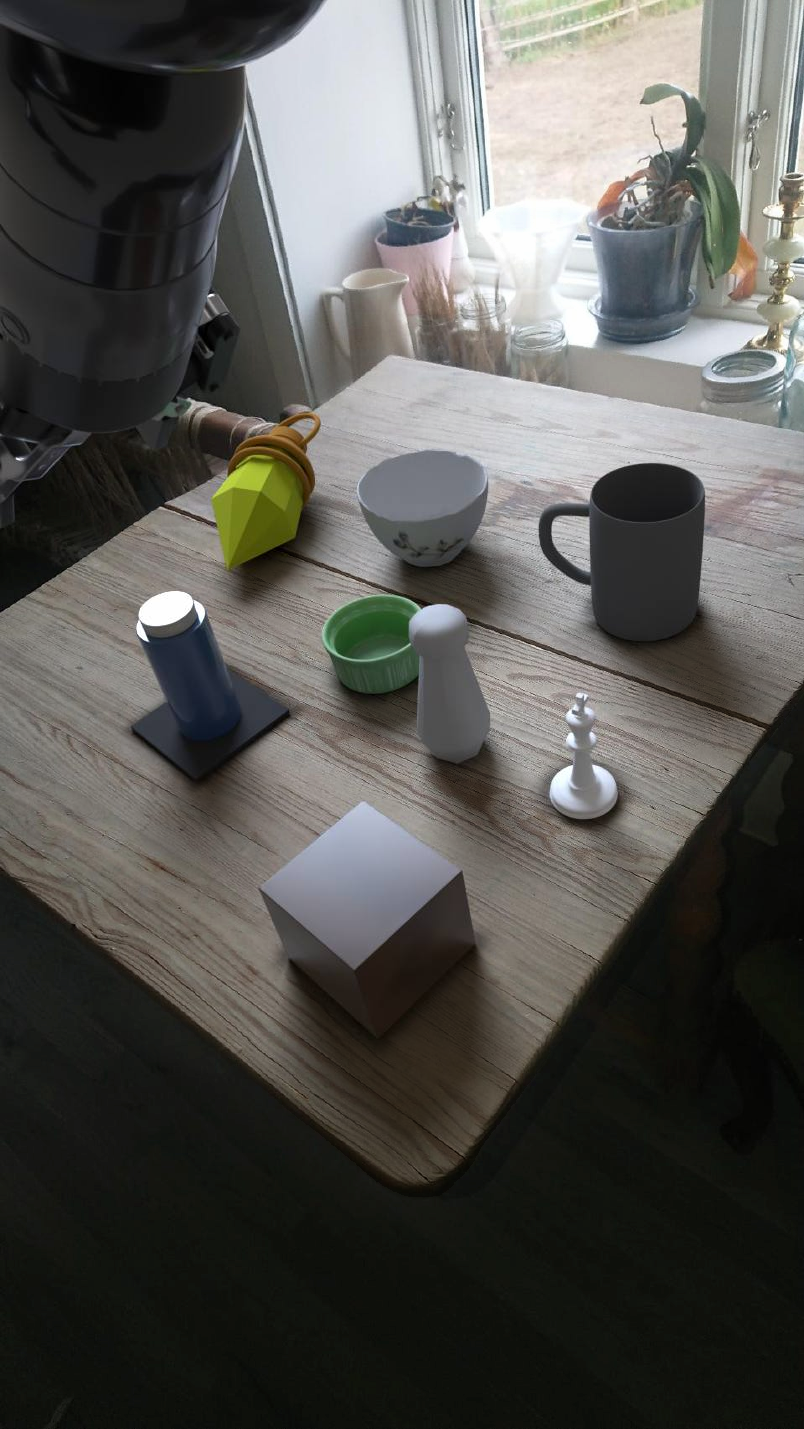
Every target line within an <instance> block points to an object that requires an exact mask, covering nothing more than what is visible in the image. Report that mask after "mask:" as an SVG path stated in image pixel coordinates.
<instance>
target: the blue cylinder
mask: <svg viewBox="0 0 804 1429" xmlns="http://www.w3.org/2000/svg"><path fill="white" fill-rule="evenodd" d="M137 618H138V620H137V623H136V625H135V626H136V627H135V633H136V636H137V638H138V641H139V643H140V645H141V647H142V650H143V652H144V654H145V657H146V658H147V661H148V663H149V666H150V668H151V670H152V672H153V675H154V677H155V679H156V681H157V683H158V686H159V688H160V691H161V692H162V695H163V697H164V700H165V702H167V704H168V706H169V708H170V711H171V713H172V715H173V718H174V720H175V722H176V724H177V727H178V729H179V731H180V733H181V734H182V735H183V736H184V737H186V738H188V739H190V740H195V741H207V740H212V739H215V738H218V737H221V736H223V735H224V734H226V733H228V732H229V731H230V730H232V729H233V728H234V727H235V726H236V724H237V723H238V721H239V720H240V717H241V713H242V709H241V705H240V702H239V700H238V697H237V694H236V692H235V689H234V686H233V684H232V681H231V678H230V675H229V673H228V670H227V669H228V667H227V664H226V662H225V659H224V657H223V653H222V652H221V649H220V646H219V643H218V641H217V638H216V635H215V632H214V630H213V627H212V624H211V622H210V618H209V615H208V613H207V611H206V608H205V606H204V605H203V604H202V603H201V602H199V601H197V600H195V599H194V598H193V597H192V596H191V595H190V594H189V593H187V592H185V591H179V590H178V591H177V590H174V591H173V590H172V591H171V590H170V591H166V592H162V593H159V594H157V595H155V596H153V597H151V598H149V599H147V600H146V601H145V602H144V603H143V604H142V605H141V607H140V608H139V611H138V614H137Z"/></svg>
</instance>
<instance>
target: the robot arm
mask: <svg viewBox="0 0 804 1429" xmlns="http://www.w3.org/2000/svg"><path fill="white" fill-rule="evenodd" d="M327 2H328V0H0V529H3V528H6V527H7V526H9V525H11V524H13V523H15V521H16V520H15V518H16V517H15V515H16V514H15V494H14V493H13V492H14V491H15V490H16V489H17V488H18V487H19V485H20V484H22V482H24V481H33V480H39V479H42V478H43V477H44V476H45V475H46V474H47V473H48V471H49V470H50V469H51V468H52V467H53V466H54V465H55V464H56V463H57V462H58V461H59V460H60V459H61V458H62V457H63V456H64V455H65V453H67V451H68V450H69V449H70V448H71V447H73V446H81V445H82V444H84V442H86V440H87V439H88V438H89V437H90V436H91V435H92V434H109V433H117V432H122V431H123V432H124V431H126V430H130V429H134V428H136V430H137V431H138V433H139V434H140V436H141V438H142V439H143V440H144V442H145V443H146V445H147V446H148V447H149V449H150V450H151V451H152V452H154V453H155V452H157V451H159V450H161V449H163V448H165V447H167V446H168V443H169V439H170V436H171V434H172V433H173V432H174V430H175V429H176V428H177V424H178V421H179V418H180V416H183V415H184V414H186V413H187V412H188V410H189V409H190V408H191V407H192V405H193V403H192V401H191V400H190V397H191V396H192V395H194V394H196V393H197V392H199V391H201V392H202V394H203V396H206V397H209V396H211V395H214V394H217V393H218V392H219V391H220V390H221V389H222V388H223V387H224V385H225V384H226V382H227V377H228V375H229V371H230V368H231V363H232V360H233V356H234V354H235V350H236V346H237V343H238V340H239V336H240V332H241V328H240V326H239V324H238V323H237V321H236V319H235V318H234V317H233V314H231V312H230V311H229V309H228V308H227V306H226V305H225V303H224V302H223V300H222V299H221V297H220V296H219V294H218V292H217V291H216V290H215V288H214V287H213V285H212V283H213V278H214V273H215V269H216V268H215V267H216V261H217V260H216V259H217V252H218V235H219V230H220V223H221V220H222V217H223V213H224V210H225V207H226V202H227V198H228V195H229V191H230V188H231V184H232V181H233V178H234V174H235V171H236V169H237V165H238V162H239V156H240V153H241V148H242V144H243V139H244V138H243V137H244V131H245V125H246V124H245V122H246V115H247V114H246V111H247V65H249V64H252V63H254V62H255V61H258V60H260V59H262V58H264V57H267V56H269V55H270V54H273V53H274V52H276V51H278V50H280V49H281V48H283V47H284V46H286V45H287V44H289V43H290V42H291V41H292V40H293V39H295V38H296V37H297V36H299V35H300V34H301V32H302V31H304V29H305V28H306V27H307V26H308V25H309V24H310V23H311V22H312V21H313V20H314V18H315V17H316V16H317V15H318V14H319V13H320V12H321V10H322V9H323V8H324V6H325V5H326V3H327ZM27 442H29V443H33V444H37V445H36V446H35V447H34V448H33V450H31V448H30V447H29V446H28V444H27Z"/></svg>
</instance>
